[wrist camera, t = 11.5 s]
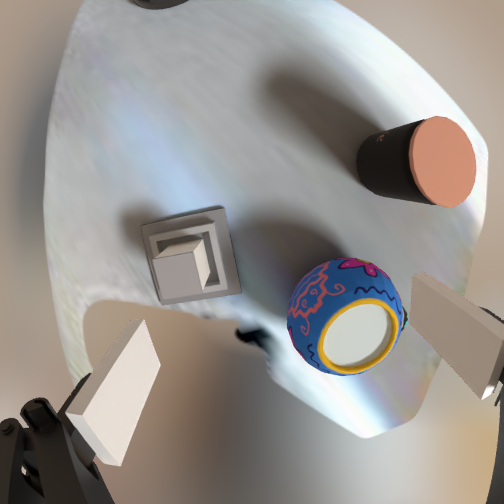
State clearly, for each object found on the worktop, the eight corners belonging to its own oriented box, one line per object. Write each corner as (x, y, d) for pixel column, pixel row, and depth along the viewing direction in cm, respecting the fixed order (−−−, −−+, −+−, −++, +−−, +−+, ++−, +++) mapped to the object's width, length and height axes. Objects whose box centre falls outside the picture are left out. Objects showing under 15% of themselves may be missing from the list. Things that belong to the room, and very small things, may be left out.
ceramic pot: (334, 353, 51) (358, 405, 36) (260, 308, 48) (265, 359, 34) (393, 283, 48) (438, 318, 33) (324, 225, 45) (358, 246, 30)
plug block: (169, 244, 44) (152, 259, 36) (203, 238, 44) (192, 252, 36) (177, 277, 46) (162, 299, 37) (210, 272, 46) (202, 293, 37)
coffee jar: (408, 139, 41) (475, 128, 24) (406, 199, 44) (474, 212, 26) (354, 129, 41) (410, 105, 24) (352, 193, 44) (410, 202, 26)
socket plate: (142, 225, 44) (136, 228, 42) (224, 207, 44) (223, 209, 41) (163, 303, 48) (158, 309, 45) (241, 291, 47) (241, 297, 45)
